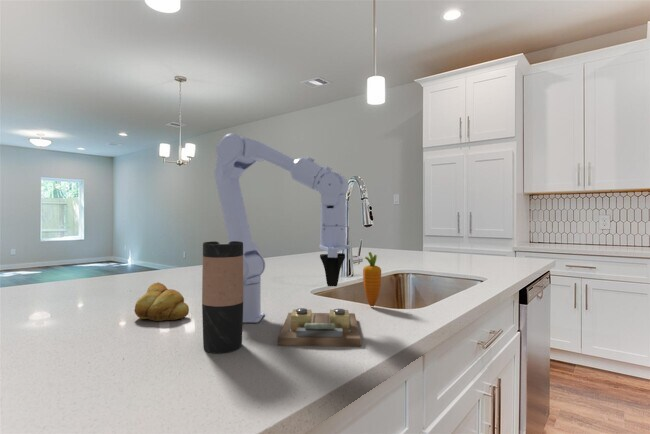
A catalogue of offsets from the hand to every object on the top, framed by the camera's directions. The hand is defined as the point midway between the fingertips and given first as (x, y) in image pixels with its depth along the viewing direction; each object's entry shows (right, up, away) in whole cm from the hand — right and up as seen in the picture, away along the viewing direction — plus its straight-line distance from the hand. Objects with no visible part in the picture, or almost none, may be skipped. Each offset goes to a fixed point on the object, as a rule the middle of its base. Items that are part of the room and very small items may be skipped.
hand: (332, 285), depth 84 cm
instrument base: (-3, -9, -3) cm, 10 cm away
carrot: (+11, -9, +18) cm, 23 cm away
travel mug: (-21, -10, -13) cm, 27 cm away
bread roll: (-41, -9, +6) cm, 43 cm away
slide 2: (+1, -8, -5) cm, 10 cm away
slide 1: (-7, -8, -5) cm, 11 cm away
